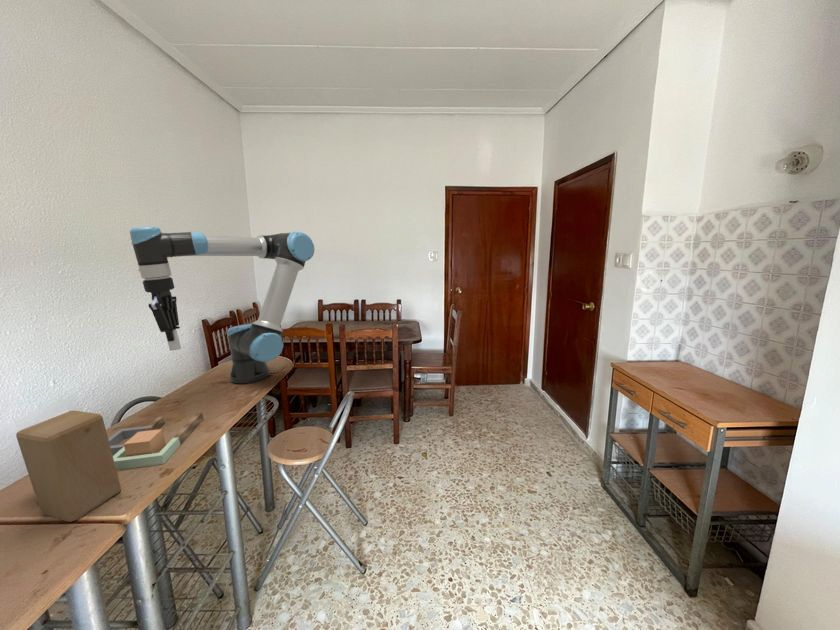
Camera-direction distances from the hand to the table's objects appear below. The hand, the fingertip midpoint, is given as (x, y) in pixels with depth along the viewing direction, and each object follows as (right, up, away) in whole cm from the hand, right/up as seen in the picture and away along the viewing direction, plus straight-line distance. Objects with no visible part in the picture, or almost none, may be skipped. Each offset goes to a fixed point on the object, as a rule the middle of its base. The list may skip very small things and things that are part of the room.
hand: (175, 349), depth 111 cm
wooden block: (+5, -31, -35) cm, 47 cm away
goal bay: (+6, -27, -19) cm, 34 cm away
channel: (+4, -25, -8) cm, 27 cm away
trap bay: (-5, -26, -13) cm, 30 cm away
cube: (+6, -27, -19) cm, 34 cm away
